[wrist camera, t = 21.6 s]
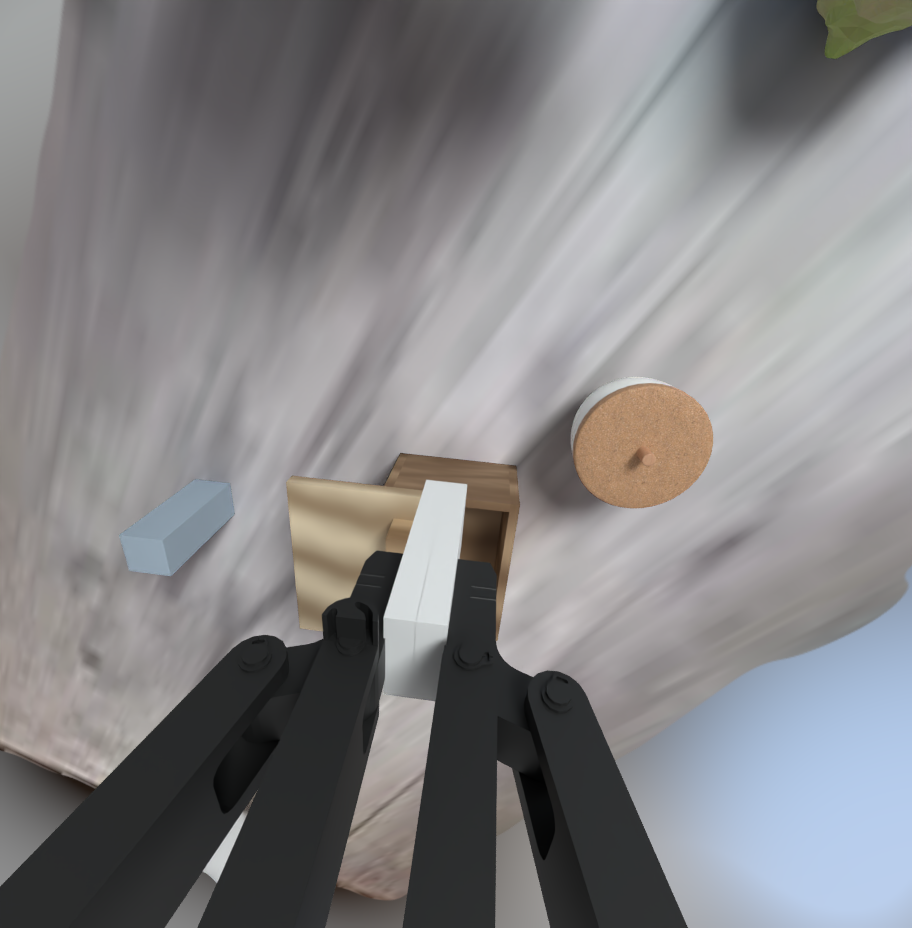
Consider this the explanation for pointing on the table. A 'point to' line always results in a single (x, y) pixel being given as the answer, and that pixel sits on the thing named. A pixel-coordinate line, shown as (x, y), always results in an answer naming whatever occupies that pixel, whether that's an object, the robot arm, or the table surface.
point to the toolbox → (473, 507)
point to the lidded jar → (640, 442)
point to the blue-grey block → (177, 527)
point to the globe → (861, 22)
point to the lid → (341, 536)
